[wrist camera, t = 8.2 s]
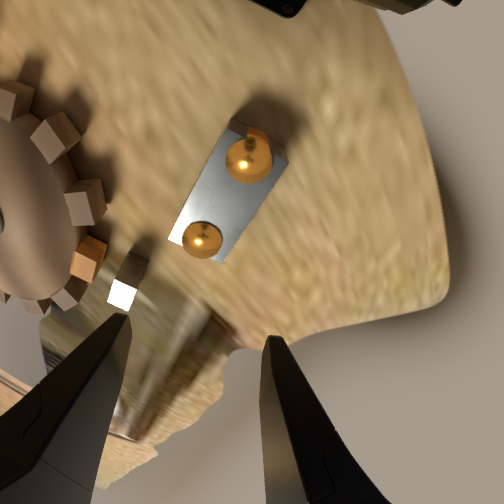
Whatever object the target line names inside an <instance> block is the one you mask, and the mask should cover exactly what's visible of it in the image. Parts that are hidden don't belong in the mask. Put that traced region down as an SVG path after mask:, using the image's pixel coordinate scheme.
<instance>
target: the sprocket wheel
mask: <svg viewBox="0 0 504 504" xmlns="http://www.w3.org/2000/svg"><path fill="white" fill-rule="evenodd" d="M34 92H35V88H33V87H31V86H28V85H25V84H22V83H19V82H17V81H11V82H7V83H4V84H0V300H1V301H2V302H4V303H6V302H7V301H8V299H9V298H10V296H14V297H17V298H20V300H21V301H22V303H23V305H24V307H25V309H26V310H27V312H30V313H36V314H43V315H44V314H45V313H46V311H47V309H48V308H49V306H50V304H51V303H52V301H53V300H54V301H55V302H56V303H57V304H58V305H59V306H60V307H61V308H62V309H63V310H64V311H66V310H68V309H69V308H71V307H73V306H74V305H76V304H78V303H79V301H80V299H81V297H82V296H83V294H84V292H85V290H86V288H87V287H88V285H87V284H86V283H85V282H84V281H86V282H89V283H91V284H92V282H93V280H94V278H95V277H96V275H97V273H98V272H99V270H100V268H101V267H102V263H103V259H104V256H105V252H106V248H107V244H105V243H103V242H101V241H99V240H97V239H95V238H93V237H91V236H88V235H87V225H95V224H96V223H97V221H98V220H99V219H100V218H101V216H102V215H103V214H104V213H105V211H106V210H107V206H106V202H105V197H104V193H103V188H102V184H101V179H100V178H94V179H85V180H78V178H77V175H76V173H75V170H74V168H73V166H72V164H71V162H70V160H69V158H68V156H67V154H66V153H67V152H68V151H69V150H70V149H71V148H72V147H73V146H74V145H75V144H76V143H77V142H78V141H79V140H80V139H81V138H82V136H81V135H80V134H79V132H78V131H77V130H76V128H75V127H74V125H73V124H72V123H71V121H70V120H69V118H68V117H67V116H66V114H65V113H64V111H63V112H60V113H58V114H56V115H53V116H51V117H49V118H46V119H45V120H44V121H43V122H41V121H40V120H39V119H38V118H36V117H35V116H34V115H32V114H31V113H30V108H31V104H32V100H33V96H34ZM83 280H84V281H83Z"/></svg>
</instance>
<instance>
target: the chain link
mask: <svg viewBox="0 0 504 504" xmlns="http://www.w3.org/2000/svg"><path fill="white" fill-rule="evenodd" d="M288 164H289V160H288V157H287V153H286V150H285V148H284V147H283V146H281V145H279V144H277V143H276V142H274V141H272V140H270V139H269V138H268V137H267V135H266V134H265V133H264V132H263V131H261V130H259V129H257V128H253V127H247V126H245V125H243V124H241V123H239V122H237V121H235V120H233V119H230V120H229V122H228V124H227V125H226V127H225V129H224V131H223V132H222V134H221V136H220V138H219V139H218V141H217V143H216V145H215V147H214V148H213V150H212V152H211V154H210V156H209V158H208V159H207V161H206V163H205V165H204V167H203V169H202V171H201V172H200V174H199V176H198V178H197V180H196V182H195V184H194V186H193V188H192V190H191V192H190V194H189V196H188V197H187V199H186V201H185V203H184V205H183V207H182V209H181V211H180V213H179V215H178V218H177V220H176V222H175V224H174V227H173V229H172V231H171V234H170V236H169V238H168V239H169V240H171V241H173V242H175V243H177V244H180V245H182V246H183V247H184V249H185V250H186V252H187V253H189V254H190V255H192V256H194V257H196V258H201V259H206V258H210V259H212V260H214V261H216V262H218V263H221V264H222V263H223V262H224V260H225V259H226V257H227V256H228V254H229V253H230V251H231V250H232V248H233V247H234V245H235V244H236V242H237V241H238V239H239V238H240V236H241V234H242V233H243V231H244V230H245V228H246V227H247V225H248V224H249V222H250V221H251V219H252V218H253V216H254V215H255V213H256V212H257V210H258V209H259V207H260V206H261V204H262V203H263V201H264V200H265V198H266V197H267V195H268V194H269V192H270V191H271V189H272V188H273V186H274V185H275V183H276V182H277V180H278V179H279V177H280V176H281V174H282V173H283V171H284V170H285V168H286V167H287V166H288Z"/></svg>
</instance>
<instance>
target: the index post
mask: <svg viewBox="0 0 504 504" xmlns="http://www.w3.org/2000/svg"><path fill="white" fill-rule="evenodd" d="M148 263H149V261H148V260H146V259H144V258H141V257H139V256H137V255H135V254H133V253H131V252H129V253H128V254H127V256H126V258H125V260H124V262H123V264H122V266H121V267H120V269H119V271H118V273H117V275H116V277H115V279H114V282H113V285H112V288H111V292H110V295H109V298H108V302H109V303H111V304H113V305H115V306H117V307H119V308H122V309H124V310H126V311H129V308H130V306H131V303H132V301H133V298H134V296H135V294H136V291H137V289H138V286H139V284H140V282H141V279H142V277H143V274H144V272H145V270H146V267H147V265H148Z"/></svg>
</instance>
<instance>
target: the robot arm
mask: <svg viewBox="0 0 504 504" xmlns="http://www.w3.org/2000/svg"><path fill="white" fill-rule="evenodd" d="M248 1H251V2H253V3H255V4H257V5H259V6H261V7H263V8H265V9H267V10H269V11H271V12H273V13H275V14H277V15H279V16H281V17H282V18H285V19H290V18H293V17H294V16H295V15H296V14H297V13H298V12H299V10H300V9H301V8H302V6H303V5H304V3H305V2H306V1H307V0H248ZM354 1H357V2H360V3H363V4H366V5H369V6H372V7H375V8H378V9H381V10H391V11H393V12H396V13H398V14H401V15H403V14H406V13H408V12H411V11H414V10H416V9H419V8H421V7H423V6H426V5H427V4H429V3H430V2H431V1H433V0H354ZM442 1H444V2H446V3H447V4H449V5H451V6H453V7H455V6H457V5H459V4H460V2H461V1H462V0H442ZM284 6H289V7H291V8H292V12H291V13H289V14H288V13H285V12H284V11H283V7H284ZM131 339H132V330H131V324H130V319H129V316H128V315H127V314H123V313H114V314H113V315H112V316H111V317H110V318H108V319H107V320H106V321H105V322H104V323H103V324H102V325H101V326H100V327H98V328H97V329H96V330H95V331H94V332H93V333H92V334H91V335H90V336H88V337H87V338H86V339H85V340H84V341H83V342H82V343H81V344H80V345H79V346H77V347H76V348H75V349H74V350H73V351H72V352H71V353H70V354H69V355H68V356H67V357H66V358H64V359H63V360H62V361H61V362H60V363H59V364H58V365H57V366H56V367H55V368H54V369H53V370H52V371H51V372H50V373H49V374H47V375H46V376H45V377H44V378H43V379H42V380H41V381H40V383H39V384H37V385H36V386H35V387H34V388H33V389H32V390H31V391H30V392H29V393H27V394H26V395H25V396H24V397H23V398H22V399H21V400H20V401H19V402H17V403H16V404H15V405H14V406H13V407H11V408H10V409H9V410H8V411H6V412H5V413H4V414H3V415H1V416H0V504H90V502H91V498H92V492H93V488H94V484H95V480H96V476H97V471H98V467H99V463H100V459H101V456H102V452H103V448H104V444H105V441H106V437H107V433H108V430H109V426H110V423H111V419H112V416H113V412H114V409H115V406H116V402H117V399H118V396H119V393H120V390H121V386H122V383H123V378H124V373H125V368H126V363H127V358H128V353H129V349H130V344H131ZM259 405H260V421H261V436H262V449H263V463H264V478H265V492H266V504H392V503H390V502H389V501H388V500H387V499H386V498H385V497H384V496H383V495H382V493H381V492H380V491H379V490H378V488H377V487H376V486H375V485H374V483H373V482H372V481H371V480H370V478H369V477H368V476H367V475H366V473H365V472H364V471H363V470H362V468H361V467H360V466H359V464H358V463H357V462H356V460H355V459H354V458H353V456H352V455H351V453H350V452H349V450H348V449H347V447H346V446H345V444H344V442H343V441H342V439H341V437H340V436H339V434H338V432H337V431H336V430H335V427H334V426H333V424H332V422H331V420H330V419H329V417H328V415H327V414H326V412H325V410H324V409H323V407H322V405H321V403H320V401H319V400H318V398H317V396H316V395H315V393H314V391H313V390H312V388H311V386H310V384H309V382H308V381H307V379H306V377H305V375H304V374H303V372H302V370H301V369H300V367H299V365H298V363H297V362H296V360H295V358H294V356H293V355H292V353H291V351H290V349H289V348H288V346H287V344H286V342H285V340H284V339H283V337H281V336H275V335H269V336H268V337H267V340H266V343H265V346H264V350H263V354H262V365H261V381H260V399H259ZM334 430H335V431H334Z"/></svg>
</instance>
